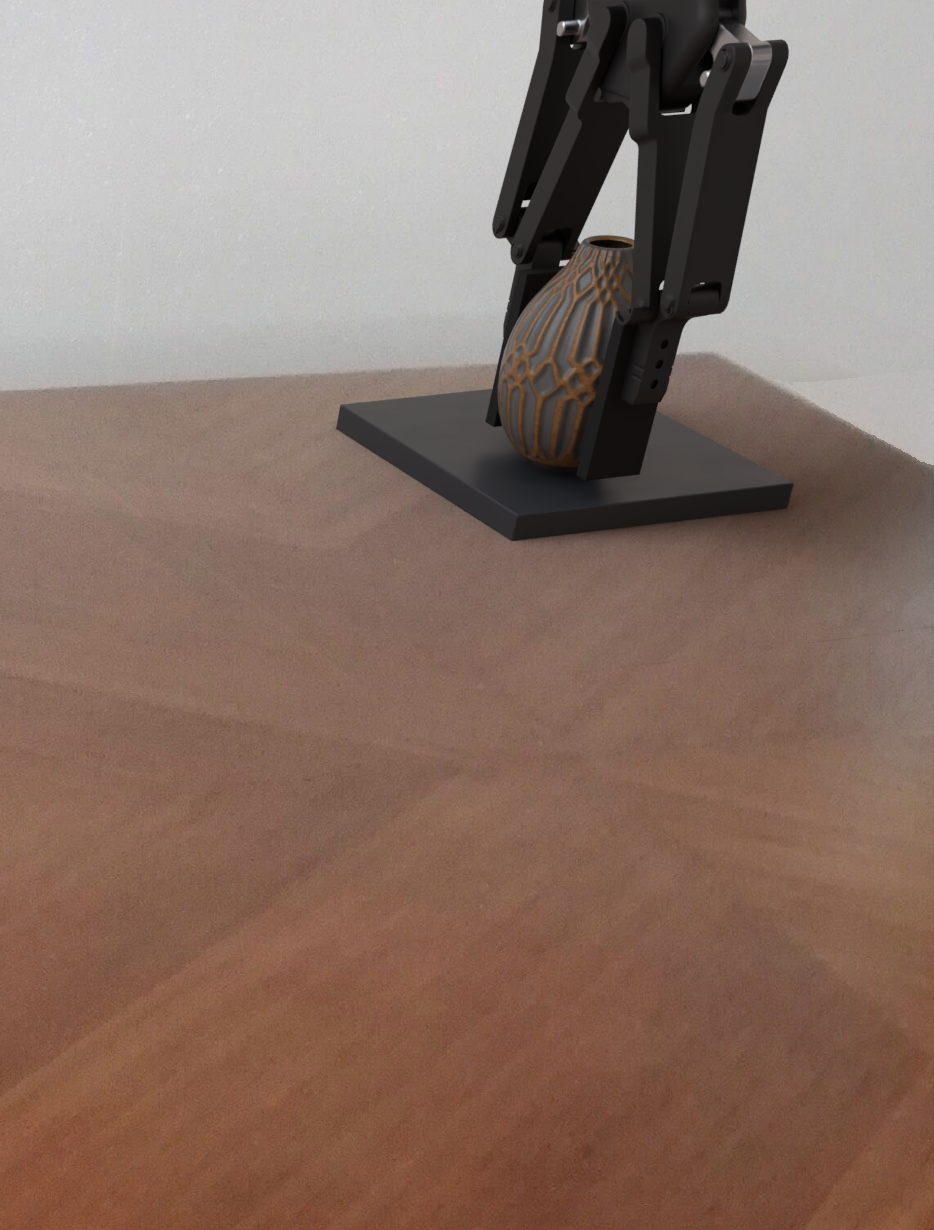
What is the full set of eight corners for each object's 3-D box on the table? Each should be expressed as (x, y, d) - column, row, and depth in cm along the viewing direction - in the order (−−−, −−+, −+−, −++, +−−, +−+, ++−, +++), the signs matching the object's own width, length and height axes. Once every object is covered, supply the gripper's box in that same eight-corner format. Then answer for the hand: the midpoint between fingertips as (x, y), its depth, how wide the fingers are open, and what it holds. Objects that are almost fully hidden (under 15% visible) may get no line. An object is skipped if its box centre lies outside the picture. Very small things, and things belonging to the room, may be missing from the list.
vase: (455, 456, 111) (499, 244, 106) (528, 418, 115) (574, 212, 109) (598, 490, 108) (651, 273, 102) (668, 450, 112) (723, 239, 106)
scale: (795, 509, 111) (816, 440, 109) (511, 543, 108) (527, 472, 106) (596, 402, 123) (612, 338, 121) (335, 430, 120) (346, 364, 118)
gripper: (956, -131, 90) (766, 512, 105) (644, -199, 104) (516, 375, 119) (778, -120, 88) (611, 531, 103) (486, -191, 103) (377, 390, 118)
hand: (560, 447), depth 111 cm, fingers closed on vase, 7 cm apart
